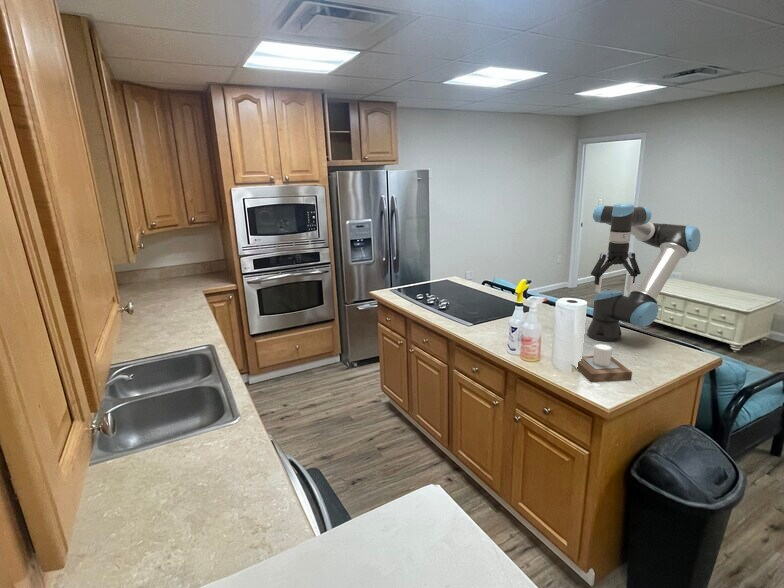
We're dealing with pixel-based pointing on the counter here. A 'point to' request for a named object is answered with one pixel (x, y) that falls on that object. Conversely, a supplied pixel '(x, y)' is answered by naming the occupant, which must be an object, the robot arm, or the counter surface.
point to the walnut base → (603, 370)
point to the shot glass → (602, 354)
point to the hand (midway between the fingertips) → (613, 291)
